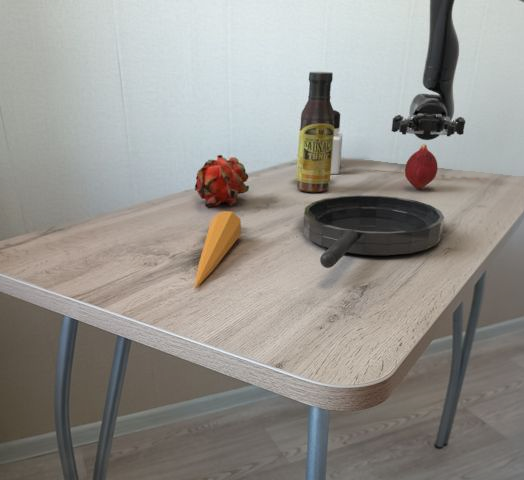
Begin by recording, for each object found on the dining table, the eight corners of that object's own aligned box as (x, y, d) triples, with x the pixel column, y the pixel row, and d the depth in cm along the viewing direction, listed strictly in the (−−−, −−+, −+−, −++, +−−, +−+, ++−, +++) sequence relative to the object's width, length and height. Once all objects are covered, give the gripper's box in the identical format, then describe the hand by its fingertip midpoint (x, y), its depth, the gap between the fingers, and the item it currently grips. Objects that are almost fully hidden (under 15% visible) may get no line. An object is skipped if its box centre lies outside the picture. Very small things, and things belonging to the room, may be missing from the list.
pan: (449, 225, 83) (452, 202, 82) (426, 268, 68) (430, 240, 66) (328, 212, 90) (329, 190, 89) (283, 247, 75) (283, 222, 73)
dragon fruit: (245, 204, 101) (210, 231, 92) (209, 173, 101) (171, 198, 92) (266, 169, 95) (231, 195, 86) (229, 136, 94) (190, 159, 86)
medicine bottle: (340, 167, 121) (344, 108, 115) (338, 174, 115) (342, 112, 109) (308, 166, 122) (310, 108, 116) (304, 173, 116) (306, 112, 110)
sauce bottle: (300, 194, 100) (303, 73, 91) (293, 186, 106) (295, 71, 96) (334, 193, 101) (342, 72, 92) (326, 185, 107) (332, 70, 97)
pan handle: (345, 240, 71) (346, 227, 70) (359, 242, 70) (360, 228, 69) (317, 268, 62) (318, 253, 62) (332, 271, 62) (333, 255, 61)
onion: (438, 192, 101) (445, 147, 97) (408, 193, 101) (413, 147, 97) (428, 185, 106) (434, 141, 102) (398, 186, 106) (403, 142, 102)
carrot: (222, 240, 80) (208, 212, 78) (249, 230, 78) (236, 201, 76) (186, 311, 64) (167, 279, 62) (220, 301, 62) (202, 267, 60)
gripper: (398, 99, 121) (392, 107, 108) (466, 101, 118) (468, 110, 104) (394, 135, 125) (387, 148, 111) (460, 138, 121) (461, 151, 108)
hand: (426, 129), depth 108 cm, fingers open, 8 cm apart
